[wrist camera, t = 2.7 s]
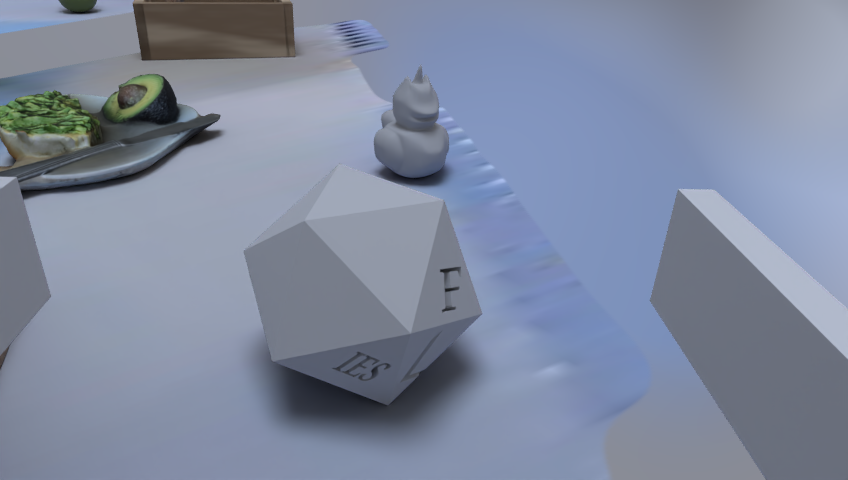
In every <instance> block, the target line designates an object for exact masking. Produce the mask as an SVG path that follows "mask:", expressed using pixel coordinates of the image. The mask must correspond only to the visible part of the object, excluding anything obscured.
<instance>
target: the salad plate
mask: <svg viewBox="0 0 848 480" xmlns="http://www.w3.org/2000/svg"><path fill="white" fill-rule="evenodd" d="M219 119H220V115H218V114H208V115H206V116H200V115H199V114H198V113H197V111H196V110H195V109H193V108H191V107H190V106H187V105H182V104H177V102H176V97H175V94H174V92H173V90H172V87H171V85H170V84H169V82H168V81H167V80H166V79H165V78H164V77H163V76H160V75H158V74H147V75H140V76H137V77H134V78H132V79H131V80H129V81H127V82H126V83H124V84H121V85H119V91H118V92H115V93H113V94H112V95H111V96H110V97H102V96H94V95H84V94H61V93H60V92H57V91H55V90H54V91H53V92H49V91H46V92H45V93H44V94H36V95H29V96H25V97H19V98H16V99H15V101H11V102H9V104H7V105H4V106H0V137H1V140H2V142H3V143H4V145H5V146H6V148H7V150H8V152H9V153H10V155H11V156H12V157H13V158H14V159H16V162H15V163H14V165H13V166H7V167H0V177H17V180H18V183H19V187H20V190H43V189H51V188H59V187H67V186H75V185H82V184H89V183H95V182H100V181H105V180H110V179H115V178H120V177H124V176H128V175H131V174H135V173H137V172H140V171H142V170H144V169H147V168H148V167H150V166H151V165H152V164H154V163H155V162H156V161H158V160H159V159H161V158H162V157H164V156H165V155H167V154H169V153H170V152H172V151H173V150H175V149H177V148H178V147H180V146H181V145H183V144H184V143H185V142H187V141H188V140H189V139H190V138H192V137H193V136H195V135H196V134H198V133H199V132H201V131H202V130H204V129H205V128H207V127H209V126H210V125H212V124H213V123H215V122H217V121H218V120H219Z"/></svg>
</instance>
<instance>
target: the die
mask: <svg viewBox="0 0 848 480" xmlns="http://www.w3.org/2000/svg"><path fill="white" fill-rule="evenodd" d="M244 255H245V259H246V262H247V266H248V270H249V274H250V278H251V282H252V286H253V289H254V293H255V297H256V301H257V305H258V309H259V313H260V316H261V320H262V324H263V328H264V332H265V336H266V340H267V343H268V347H269V351H270V355H271V359H272V362H275V363H278V364H280V365H283V366H285V367H288V368H291V369H293V370H296V371H299V372H301V373H304V374H306V375H309V376H312V377H314V378H317V379H320V380H322V381H325V382H327V383H330V384H333V385H335V386H338V387H341V388H343V389H346V390H348V391H351V392H354V393H356V394H359V395H362V396H364V397H367V398H369V399H372V400H375V401H377V402H380V403H383V404H385V405H389V404H390V403H391V402H392V401H393V400H394V399H395V398H396V397H397V396H398V395H400V394H401V393H402V392H403V391H404V390H405V389H406V388H407V387H408V386H409V385H410V384H411V383H412V382H413V381H414V380H415V379H416V378H417V377H418V376H419V372H420V371H422V370H425V369H426V368H427V367H428V366H429V365H430V364H431V363H432V362H433V361H434V360H435V359H436V358H437V357H438V356H439V355H441V354H442V353H443V352H444V351H445V350H446V349H447V348H448V347H449V346H450V345H451V344H452V343H453V342H454V341H455V340H456V339H457V338H458V337H459V336H460V335H461V334H462V333H463V332H464V331H465V330H466V329H467V328H468V327H469V326H470V325H471V324H472V323H473V322H474V321H475V320H476V319H477V318H478V317H479V316H481V315H482V311H481V308H480V305H479V302H478V299H477V296H476V293H475V290H474V287H473V284H472V282H471V279H470V276H469V273H468V270H467V267H466V264H465V261H464V258H463V255H462V252H461V249H460V246H459V243H458V240H457V237H456V234H455V231H454V228H453V225H452V222H451V220H450V217H449V214H448V211H447V208H446V205H445V202H444V200H442V199H439V198H436V197H433V196H431V195H428V194H425V193H422V192H419V191H416V190H413V189H411V188H408V187H405V186H402V185H399V184H396V183H393V182H391V181H388V180H385V179H382V178H379V177H376V176H373V175H371V174H368V173H365V172H362V171H359V170H356V169H353V168H351V167H348V166H345V165H342V164H339V165H337V166H336V167H335V168H334V169H333V170H332V171H331V172H330V173H329V174H328V175H326V176H325V177H324V178H323V179H322V180H321V181H320V182H319V183H318V184H316V185H315V186H314V187H313V188H312V189H311V190H310V191H309V192H308V193H307V194H305V195H304V196H303V197H302V198H301V199H300V200H299V201H298V202H297V203H296V204H294V205H293V206H292V207H291V208H290V209H289V210H288V211H287V212H286V213H284V214H283V215H282V216H281V217H280V218H279V219H278V220H277V221H276V222H275V223H273V224H272V225H271V226H270V227H269V228H268V229H267V230H266V231H265V232H264V233H262V234H261V235H260V236H259V237H258V238H257V239H256V240H255V241H254V242H253V243H251V244H250V245H249V246H248V247H247V248H246V249H245V250H244Z"/></svg>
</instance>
